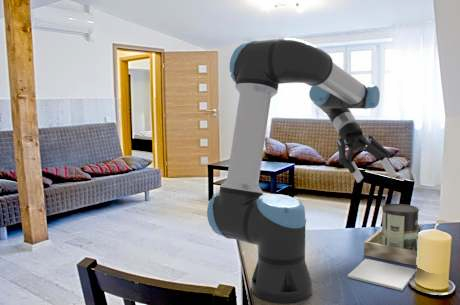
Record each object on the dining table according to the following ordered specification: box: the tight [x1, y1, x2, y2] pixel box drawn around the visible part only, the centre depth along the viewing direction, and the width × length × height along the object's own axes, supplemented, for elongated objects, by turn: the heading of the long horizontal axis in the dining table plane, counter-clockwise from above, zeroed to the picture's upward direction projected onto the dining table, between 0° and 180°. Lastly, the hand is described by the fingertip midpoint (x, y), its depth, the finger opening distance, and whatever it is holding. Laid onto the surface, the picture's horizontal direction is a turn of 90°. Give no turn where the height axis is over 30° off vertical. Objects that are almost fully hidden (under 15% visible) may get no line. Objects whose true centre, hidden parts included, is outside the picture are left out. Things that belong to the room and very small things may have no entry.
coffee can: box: [381, 203, 420, 251], centre depth 130 cm, size 10×10×14 cm
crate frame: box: [363, 227, 419, 267], centre depth 131 cm, size 16×16×4 cm
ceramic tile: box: [347, 258, 416, 292], centre depth 115 cm, size 14×14×1 cm
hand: (377, 178), depth 139 cm, fingers open, 13 cm apart
